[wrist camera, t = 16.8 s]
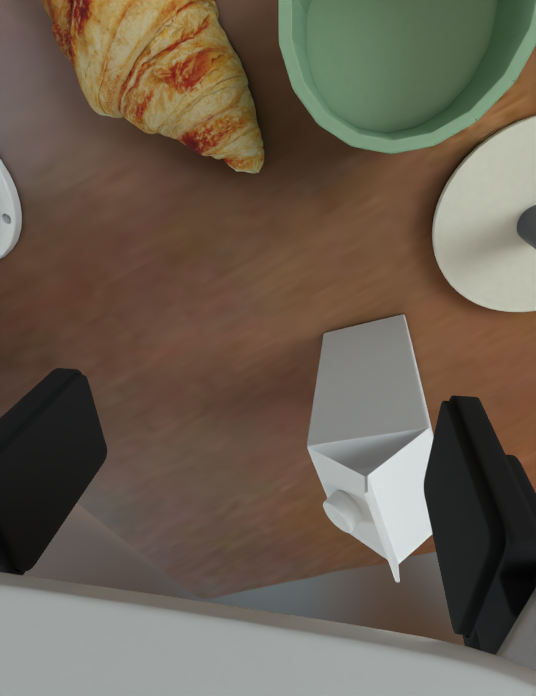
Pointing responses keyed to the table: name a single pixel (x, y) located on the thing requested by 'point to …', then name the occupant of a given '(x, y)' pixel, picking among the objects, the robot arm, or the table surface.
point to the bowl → (403, 64)
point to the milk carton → (373, 437)
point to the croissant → (163, 72)
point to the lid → (492, 222)
